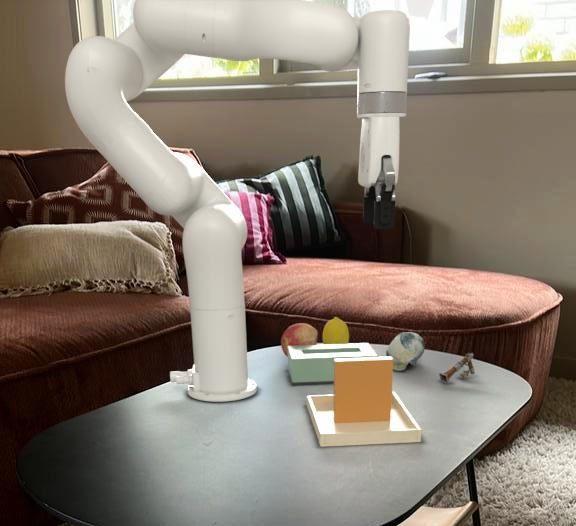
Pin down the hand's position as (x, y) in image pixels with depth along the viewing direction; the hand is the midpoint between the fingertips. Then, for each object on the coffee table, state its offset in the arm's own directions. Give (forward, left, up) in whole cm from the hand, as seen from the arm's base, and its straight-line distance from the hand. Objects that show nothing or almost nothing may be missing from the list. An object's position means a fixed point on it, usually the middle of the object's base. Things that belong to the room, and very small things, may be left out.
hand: (378, 225), depth 125 cm
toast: (-5, -16, -28) cm, 32 cm away
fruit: (-11, +22, -28) cm, 38 cm away
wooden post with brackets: (+17, +6, -28) cm, 34 cm away
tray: (-5, -16, -28) cm, 33 cm away
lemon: (-3, +27, -28) cm, 39 cm away
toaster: (-6, +12, -28) cm, 31 cm away
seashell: (+10, +18, -28) cm, 35 cm away
